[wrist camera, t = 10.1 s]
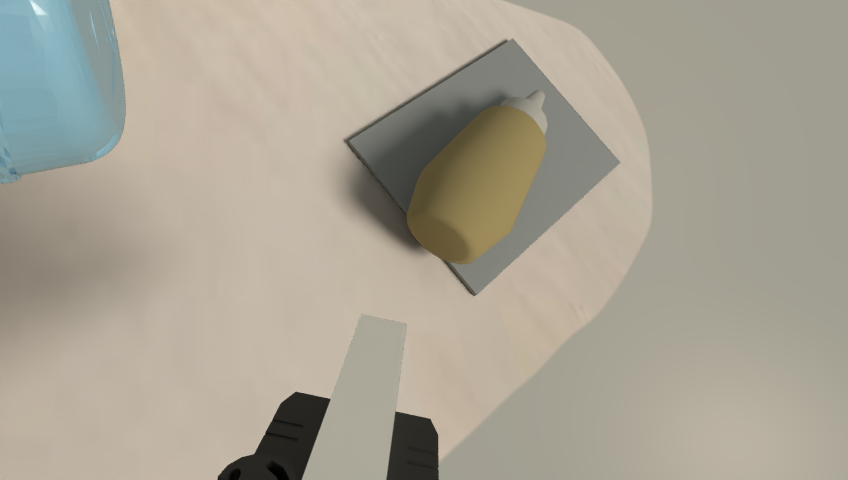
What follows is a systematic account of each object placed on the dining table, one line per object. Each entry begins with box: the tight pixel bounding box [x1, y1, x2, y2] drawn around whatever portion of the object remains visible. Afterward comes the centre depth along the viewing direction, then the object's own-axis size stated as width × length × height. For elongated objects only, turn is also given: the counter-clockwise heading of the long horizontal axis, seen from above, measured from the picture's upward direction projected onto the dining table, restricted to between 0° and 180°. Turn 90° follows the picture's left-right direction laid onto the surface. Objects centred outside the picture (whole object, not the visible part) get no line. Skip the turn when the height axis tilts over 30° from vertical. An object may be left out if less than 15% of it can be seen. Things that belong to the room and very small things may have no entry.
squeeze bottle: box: [406, 90, 548, 264], centre depth 35 cm, size 8×8×18 cm
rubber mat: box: [348, 39, 620, 296], centre depth 39 cm, size 16×21×1 cm
